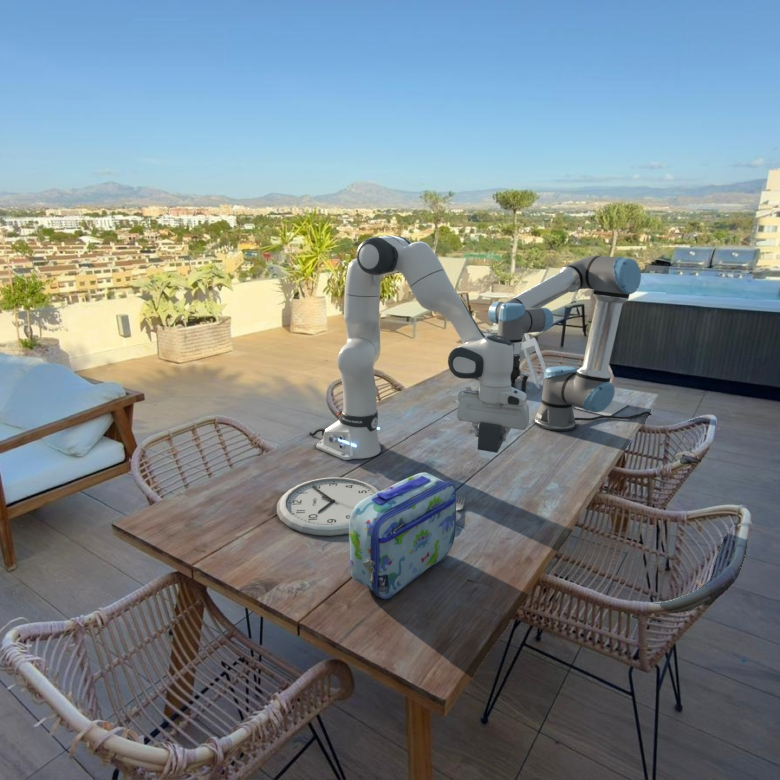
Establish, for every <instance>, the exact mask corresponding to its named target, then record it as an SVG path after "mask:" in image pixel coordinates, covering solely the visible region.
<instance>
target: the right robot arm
mask: <svg viewBox="0 0 780 780" xmlns="http://www.w3.org/2000/svg"><path fill="white" fill-rule="evenodd" d="M641 281H642V272H641V267H640V266H639V264H638V262H637V261H636V260H634V259H633V258H628V257H624V256H606V255H605V256H603V255H591V256H587V257H584V258H581V259H578V260H575V261H573V262H571V263H569V264H568V265H565V266H563V267H562V268H561V269H560V270H559V272H558V273H557V274H555V275H552V276H551V277H549V278H547V279H546V280H544V281H542V282H540V283H538V284H536V285H534V286H533V287H531V288H529V289H527V290H525V291H523V292H521V293H520V294H518V295H516V296H515V297H512V298H510V299H508V300H506V301H494V302H493V303H491V304H490V306H489V308H488V312H487V316H488V320H489V321H490V322H491V323H493V324H496V325H497V335H499V336H503V337H505V338H507V339H508V340H510V341H511V343H512V345H513V370H512V373H511V387H513V388H515V389H518V388H517V381H516V380H517V379H518V378H520V381H521V387H520V388H521V389H520V391H522V392H524V393H526V394H527V383H528V379H529V376H530V374H528V373H523V372H521V368H520V366H521V360H520V357H521V356H520V355H519V354H520V353H521V346H522V342H523V336H524V333H528V334H531V333H541V332H545V331H548V330H550V329H551V327H552V326H553V324H554V314H553V312H552V311H551V309H549V308H548V307H545V306H546V305H548V304H550V303H551V302H554V301H555V300H557V299H559V298H561V297H562V296H565V295H566V294H568V293H575V292H578V291H579V290H586V289H587V290H593V293H592V296H593V297H594V298H595V305H594V309H593V314H592V319H591V323H590V329H589V334H588V336H587V337H588V338H587V341H586V342H587V343H586V346H585V351H584V352H585V353H584V357H583V360H582V366H581V367H580V368H578V369H577V367H574V366H569V365H568V366H567V365H557V366H550V367H546V370H545V375H544V374H543V378H542V379H543V381H542V392H541V402H540V405H539V407H538V410H537V411H536V413H535V416H534V424H535V425H536V426H537V427H539V428H542V429H544V430H549V431H556V432H567V431H572V430H574V429H575V428H576V421H595V420H599V419H616V420H629V419H633V418H637V417H641V416H644V415H648V416H652V413H651V412H650V411H648V410H645V411H643V412H640V413H638V414H632V415H628V416H618V415H611V416H604V415H598V416H594V417H576V416H575V413H574V407H579V408H582V409H584V410H586V411H585V412H588V411H591V412H590V413H592V412H601V411H603V410H604V409H606V407H608V406H609V404H610V403H611V401H613V399H614V397H615V392H616V389H615V386H614V385H613V383H611V382H610V381H611V379H612V378H611V377H612V376H611V375H610V373H609V365H610V361H611V356H612V352H613V348H614V343H615V340H616V334H617V330H618V326H619V321H620V316H621V312H622V308H623V304H624V303H625V302H627V301H628V300H629V299H630V295H632V294H635V293H636V292H637V291H638V289H639V287H640V286H641V285H640V284H641ZM573 406H574V407H573ZM584 410H583V411H584Z"/></svg>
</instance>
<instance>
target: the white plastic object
mask: <svg viewBox="0 0 780 780" xmlns="http://www.w3.org/2000/svg"><path fill="white" fill-rule="evenodd" d="M482 333H483V334H484V335H485V336H487V335H490V334H489V333H487V332H486V333H485V332H482ZM523 336H524V338H525V341H522V346H521V353H520V354H519V355H520V356H521V357H520V361H521V360H522V359H523V358H524V357H525V360H526V363H527V367H528V370H529V372H530V376H531V379H532V382H533V384H534V386H535V387H536V388H537V389H538V390H540V383H539V380H538V377H537V374H536V371H535V368H534V365H533V361H532V359H531V356H530V354H533V353H535V352H536V355H537V359H538V362H539V364H540V367H541V370H542V373H543V376H544V375H545V370H546V369H547V366H546V364H545V363H546V362H545V360H544V358H543V355H542V351H541V348H540V345H539V343H538V341H537V339H536V338H535V337H532V338H531V337H530V333H524V334H523Z"/></svg>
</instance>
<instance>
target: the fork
mask: <svg viewBox="0 0 780 780" xmlns="http://www.w3.org/2000/svg"><path fill="white" fill-rule="evenodd" d="M460 498H461V499H460ZM465 498H466V496H464V498H463V497H461V496H460V495H458V494H456V512H457V511H462V510H463V509H464V504H465Z"/></svg>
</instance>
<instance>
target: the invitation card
mask: <svg viewBox="0 0 780 780" xmlns="http://www.w3.org/2000/svg"><path fill="white" fill-rule="evenodd" d="M628 406H629V404H627V403H623V402H618V401H614V400H612V401H611V403H610V404H609V406H608V407H606V409H604V410H603V411H601V412H591V411H586V410H584V409H582V408H579V407H576V406H574V407H573V409H575V410H581V411H584V412H587V413H593V414H596V415H599V416H614V414H616V413H617V412H619V411H621V410H623V409H624V408H626V407H628Z"/></svg>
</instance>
